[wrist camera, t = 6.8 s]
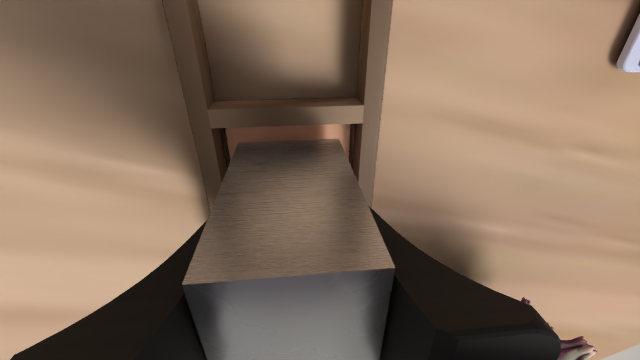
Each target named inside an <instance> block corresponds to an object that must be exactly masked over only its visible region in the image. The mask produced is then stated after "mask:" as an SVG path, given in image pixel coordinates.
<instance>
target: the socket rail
mask: <svg viewBox="0 0 640 360" xmlns="http://www.w3.org/2000/svg"><path fill="white" fill-rule="evenodd" d="M162 2H163V6H164V11H165V15H166V19H167V24H168V28H169V32H170V37H171V41H172V45H173V50H174V54H175V59H176V63H177V67H178V72H179V76H180V80H181V85H182V89H183V93H184V98H185V102H186V106H187V111H188V115H189V120H190V124H191V128H192V133H193V137H194V141H195V146H196V150H197V154H198V159H199V163H200V168H201V172H202V176H203V181H204V185H205V189H206V194H207V198H208V202H209V207H210V211H211V210H212V207H213V204H214V202H215V199H216V197H217V194H218V192H219V189H220V187H221V184H222V182H223V179H224V177H225V174H226V172H227V164H226V158H225V153H224V147H223V141H222V136H221V130H220V128H225V131H226V137H227V143H228V149H229V154H230V160H231V159H232V156H233V154H234V151H235V149H236V146H237V144H238V142H263V141H289V140H314V139H339V140H340V142H341V145H342V147H343V149H344V151H345V154H346V156H347V158H348V161H349V143H350V124H355V134H354V151H353V168H352V170H353V172H354V174H355V177H356V179H357V181H358V183H359V186H360V188H361V190H362V193H363V195H364V197H365V199H366V202H367V204H368V206H369V207H370V208H371V206H372V197H373V187H374V177H375V168H376V158H377V149H378V139H379V129H380V120H381V110H382V101H383V91H384V81H385V72H386V62H387V53H388V43H389V33H390V24H391V14H392V5H393V0H363V2H362V18H361V35H360V51H359V68H358V85H357V97H347V98H309V99H270V100H231V101H215V97H214V91H213V85H212V80H211V74H210V69H209V63H208V57H207V52H206V46H205V41H204V35H203V29H202V24H201V18H200V13H199V7H198V1H197V0H162Z"/></svg>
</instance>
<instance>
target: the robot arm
mask: <svg viewBox="0 0 640 360" xmlns="http://www.w3.org/2000/svg"><path fill="white" fill-rule="evenodd" d="M617 69H618V70H619V71H624V72H640V14H639V16H638V18H637V20H636V23H635V25H634V27H633V29H632V31H631V33H630V35H629V37H628V40H627V42H626V44H625V46H624V48H623V50H622V52H621V54H620V57H619V59H618V61H617ZM369 209H370V211H371V213H372V215H373V218H374V220H375V222H376V225H377V227H378V229H379V231H380V234H381V236H382V238H383V241H384V243H385V245H386V247H387V250H388V252H389V254H390V257H391V259H392V261H393V264H394V266H395V273H394V279H393V284H392V290H391V296H390V302H389V307H388V313H387V319H386V324H385V330H384V336H383V342H382V347H381V353H380V359H379V360H557V359H558V357H559V355H560V353H561V340H560V339H559V337H558V335H557V334H556V333H555V332H554V331H553V330H552V328H551V327H550V326H549V325H548V324H547V323H546V321H545V320H544V319H543V318H542V317H541V316H540V314H539V313H538V312H537V311H536V310H535V309H534V308H533V307H532V306H531V305H529V304H526V303H524V302H521V301H519V300H516V299H514V298H511V297H509V296H506V295H504V294H501V293H499V292H496V291H494V290H492V289H490V288H487V287H485V286H483V285H481V284H479V283H477V282H475V281H472V280H470V279H469V278H467V277H465V276H463V275H461V274H459V273H457V272H455V271H453V270H452V269H450V268H448V267H446V266H445V265H443V264H441V263H440V262H438V261H436V260H435V259H433V258H432V257H430V256H429V255H427V254H426V253H424V252H423V251H421V250H420V249H418V248H417V247H415V246H414V245H413V244H411V243H410V242H409V241H407V240H406V239H405V238H404V237H402V236H401V235H400V234H399V233H397V232H396V231H395V230H394V229H393V228H392V227H391V226H389V225H388V224H387V223H386V222H385V221H384V220H383V219H382V218H381V217H380V216H379V215H378V214H377V213H376V212H375V211H373V210H372V209H371V208H370V207H369ZM207 220H208V219H207ZM206 222H207V221H206ZM206 222H205V223H204V224H203V225H202V226H201V227H200V228H199V229H198V230H197V231H196V232H195V233H194V234H193V235H192V236H191V237H190V238H189V239H188V240H187V241H186V242H185V243H184V244H183V245H182V246H181V247H180V248H179V249H178V250H177V251H176V252H175V253H174V254H173V255H171V256H170V257H169V258H168V259H167V260H166V261H165V262H164V263H162V264H161V265H160V266H159V267H158V268H156V269H155V270H154V271H153V272H151V273H150V274H149V275H147V276H146V277H145V278H144V279H142V280H141V281H140V282H138V283H137V284H135V285H134V286H132V287H131V288H130V289H128V290H127V291H125V292H124V293H122V294H121V295H119V296H118V297H116V298H115V299H114V300H112V301H111V302H109V303H107V304H106V305H104V306H103V307H101V308H99V309H98V310H96V311H95V312H93V313H91V314H90V315H88V316H86V317H85V318H83V319H81V320H79V321H78V322H76V323H74V324H72V325H71V326H69V327H67V328H65V329H64V330H62V331H60V332H58V333H56V334H54V335H52V336H50V337H48V338H46V339H45V340H43V341H41V342H39V343H37V344H35V345H33V346H31V347H29V348H27V349H26V350H24V351H22V352H19V353H17V354H15V355H14V356H13V357H12V358H11V359H10V360H207V357H206V354H205V352H204V349H203V346H202V343H201V340H200V337H199V334H198V331H197V328H196V325H195V322H194V319H193V316H192V314H191V311H190V308H189V305H188V302H187V299H186V296H185V293H184V290H183V287H182V283H183V280H184V278H185V275H186V273H187V270H188V268H189V265H190V263H191V260H192V258H193V255H194V253H195V250H196V247H197V245H198V242H199V240H200V237H201V235H202V232H203V230H204V227H205V225H206Z"/></svg>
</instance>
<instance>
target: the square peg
mask: <svg viewBox="0 0 640 360" xmlns="http://www.w3.org/2000/svg"><path fill="white" fill-rule="evenodd" d="M394 273H395V266H394V264H393V261H392V259H391V257H390V254H389V252H388V250H387V247H386V245H385V243H384V241H383V238H382V236H381V234H380V231H379V229H378V227H377V225H376V222H375V220H374V218H373V215H372V213H371V211H370V209H369V206H368V204H367V202H366V199H365V197H364V195H363V193H362V190H361V188H360V186H359V183H358V181H357V179H356V177H355V174H354V172H353V170H352V167H351V165H350V163H349V161H348V158H347V156H346V154H345V151H344V149H343V147H342V145H341V142H340V140H339V139H314V140H289V141H263V142H238V144H237V146H236V149H235V151H234V154H233V156H232V159H231V161H230V164H229V167H228V169H227V172H226V174H225V177H224V179H223V182H222V184H221V187H220V189H219V192H218V194H217V197H216V199H215V202H214V204H213V207H212V210H211V212H210V215H209V217H208V220H207V222H206V225H205V227H204V230H203V232H202V235H201V237H200V240H199V242H198V245H197V247H196V250H195V253H194V255H193V258H192V260H191V263H190V265H189V268H188V270H187V273H186V275H185V278H184V280H183V283H182V287H183V290H184V293H185V296H186V299H187V302H188V305H189V308H190V311H191V314H192V316H193V319H194V322H195V325H196V328H197V331H198V334H199V337H200V340H201V343H202V346H203V349H204V352H205V354H206V357H207V360H379V359H380V353H381V347H382V342H383V336H384V330H385V324H386V319H387V313H388V307H389V302H390V296H391V290H392V284H393V279H394Z"/></svg>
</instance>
